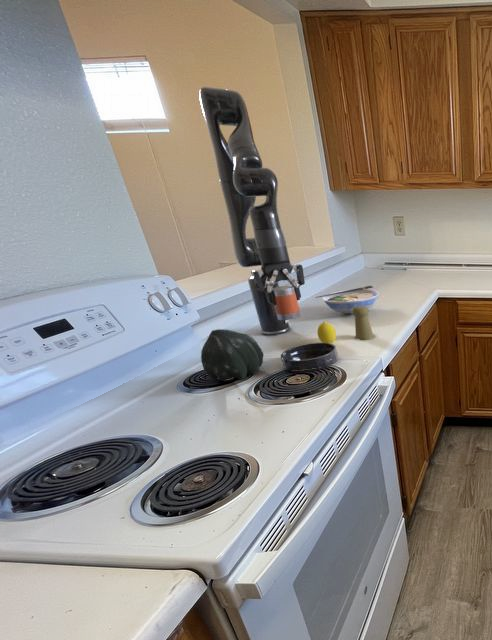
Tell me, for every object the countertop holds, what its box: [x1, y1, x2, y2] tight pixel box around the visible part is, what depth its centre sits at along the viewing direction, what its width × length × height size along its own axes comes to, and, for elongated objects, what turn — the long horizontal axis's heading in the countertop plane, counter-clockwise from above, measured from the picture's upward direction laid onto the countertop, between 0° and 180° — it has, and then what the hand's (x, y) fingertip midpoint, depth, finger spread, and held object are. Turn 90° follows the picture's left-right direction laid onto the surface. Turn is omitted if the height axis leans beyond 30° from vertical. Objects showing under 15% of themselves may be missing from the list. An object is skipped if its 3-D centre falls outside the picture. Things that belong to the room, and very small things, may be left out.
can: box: [271, 285, 302, 321], centre depth 126 cm, size 6×6×9 cm
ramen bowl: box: [315, 285, 380, 315], centre depth 175 cm, size 25×23×8 cm
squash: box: [200, 328, 264, 382], centre depth 115 cm, size 14×15×15 cm
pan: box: [280, 342, 339, 373], centre depth 123 cm, size 15×15×4 cm
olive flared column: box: [352, 306, 375, 341], centre depth 143 cm, size 6×6×11 cm
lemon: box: [316, 321, 337, 344], centre depth 137 cm, size 6×6×8 cm
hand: (285, 302), depth 126 cm, fingers closed on can, 6 cm apart
